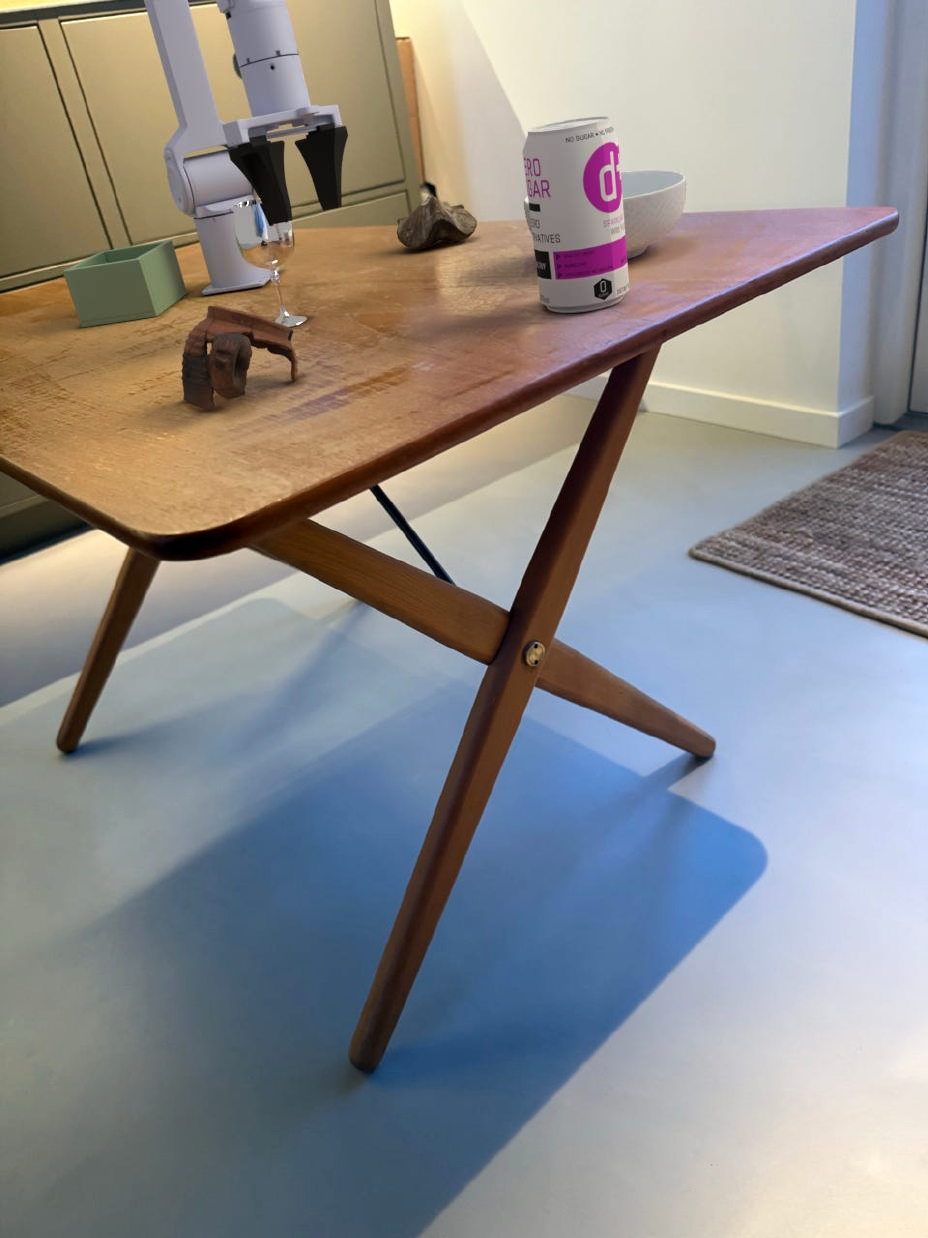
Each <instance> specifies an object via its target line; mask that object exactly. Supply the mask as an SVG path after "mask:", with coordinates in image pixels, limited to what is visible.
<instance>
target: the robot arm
mask: <svg viewBox="0 0 928 1238" xmlns="http://www.w3.org/2000/svg"><path fill="white" fill-rule="evenodd" d="M143 3H144V6H145V10H146V13H147V15H148V16H147V17H148V20H149V24H150V27H151V31H152V35H153V37H154V42H155V45H156V49H157V52H158V55H159V59H160V62H161V66H162V69H163V73H164V76H165V80H166V85H167V87H168V91H169V94H170V98H171V101H172V105H173V108H174V111H175V114H176V118H177V122H178V127H177V128H176V130H175V131H174V133H173V134H172V136H171V137H170V138H169V139H168V142H167V143H166V144H165V146H164V149H163V159H164V164H165V168H166V175H167V176H166V177H167V183H168V187H169V190H170V193H171V195H172V198H173V201H174V203H175V205H176V207H177V208H178V210H179V211H180V212H182V213H183V214H184V215H186V216H188V217H190V218H193V222H194V227H195V231H196V234H197V237H198V241H199V244H200V249H201V251H202V255H203V259H204V262H205V265H206V270H207V274H208V277H209V280H210V284H209V285H208V286H207V287H205V288H204V289H203V290H201V293H202V295H203V296H205V295H212V294H218V293H219V294H220V293H225V292H232V291H238V290H246V289H252V288H258V287H262V286H265V285H266V284H267V283H268V282H269V281H271V279H270V273H271V270H270V269H265V268H259V267H256V266H253V265H251V264H249V263H248V262H247V261H246V260H245V259H244V258H243V257H242V255H241V253H240V251H239V248H238V245H237V242H236V237H235V230H234V210H233V206H234V205H236V204H239V203H242V202H246V201H250V200H254V199H260V200H261V202H262V204H263V206H264V207H265V209H266V211H267V213H268V215H269V217H270V219H271V221H272V223H273V224H278V223H283V222H288V221H290V222H291V221H293V211H292V204H291V199H290V195H289V190H288V185H287V179H286V169H285V168H286V167H285V145H286V142H285V141H284V140H282V139H281V140H276V141H271V140H272V139H278V138H284V137H288V136H294V135H300V134H305V133H307V134H305V138H301V139H297V140H295V141H294V145H295V147H296V148H297V150H298V151H299V153H300V155H301V157H302V159H303V161H304V163H305V165H306V168H307V170H308V172H309V175H310V177H311V180H312V183H313V187H314V190H315V193H316V197H317V200H318V203H319V205H320V206H321V209H322V211H324V212H325V211H329V210H334V209H340V208H342V207H343V203H342V202H343V199H342V195H343V194H342V192H343V191H342V178H343V177H342V170H343V161H344V155H345V148H346V145H347V141H348V138H349V133H348V128H347V125H343V122H342V117H341V112H340V108H339V104H332V105H319V104H312V103H311V99H310V95H309V91H308V87H307V83H306V79H305V75H304V70H303V66H302V62H301V61H302V60H301V57H300V54H299V49H298V46H297V41H296V37H295V33H294V29H293V24H292V20H291V17H290V13H289V8H288V5H287V1H286V0H215V3H216V7H217V8H218V10H219V12H220V14H224V17H225V19H226V23H227V28H228V31H229V35H230V38H231V42H232V46H233V49H234V53H235V58H236V62H237V65H238V68H239V72H240V75H241V79H242V83H243V87H244V91H245V95H246V99H247V103H248V106H249V110H250V113H251V117H248V118H242V119H236V120H232V121H229V122H226V123H225V122H224V121H222V120H221V119H220V116H219V113H218V109H217V105H216V102H215V98H214V94H213V91H212V86H211V83H210V79H209V75H208V71H207V68H206V64H205V60H204V57H203V53H202V49H201V45H200V41H199V37H198V34H197V31H196V27H195V22H194V18H193V16H192V12H191V8H190V4H189V0H143ZM290 124H291V126H292V127H291V128H289V129H284V130H283V129H282V130H277V129H280V127H282V126H285V125H286V126H287V125H290ZM275 130H277V131H275ZM216 147H224V148H225V149H221V150H216V151H212V152H206V153H202V154H198V155H193V156H188V157H186V156H187V155H188V154H190V153H193V152H196V151H200V150H205V149H211V148H216ZM280 270H281V268H280V266H278V267H277V268H276V271H277V272H278V273H279V272H280Z"/></svg>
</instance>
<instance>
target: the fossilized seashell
mask: <svg viewBox="0 0 928 1238" xmlns="http://www.w3.org/2000/svg"><path fill="white" fill-rule="evenodd" d="M396 222H397V223H398V226H397V229H396V235H397V240H398V241H399V242H400V243H401V244H402V245H404V246H405V247H406V248H407V249H414V250H421V249H427V248H430V247H432V246H434V245H435V244H438V242H440V241H442V242H448V243H455V242H460V241H463V240H466V239H468V238H470V237H471V236H472V235H473V234H474V232H475V231H476V228H477V226H478V221H477V219H476V217H475V216H474V215H473V214H471V213H470V212H469V211H468V210H466V209H465V206H464V204H463V203H462V204H457V205H451V204H450V203H449V202H448V201H445V200H444V201H442V200H440V199H439V198H438V197H436V196H434V195H433V194H430V195H428V196H427V198H426V199H425V200H423V201H422V202H421V203H420V204H419V205H418V206H417V207H416V208H415V209H414V210H413V211H412V212H411V213H410V214H409V215H407V216H404V217H400V218H398V219H397V220H396Z"/></svg>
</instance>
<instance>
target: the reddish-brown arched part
mask: <svg viewBox="0 0 928 1238" xmlns="http://www.w3.org/2000/svg"><path fill="white" fill-rule="evenodd" d="M293 334H294V329H292V328H291V327H287V326H285V325H283V324H279V323H277V322H274V320H272V319H269V318H267V317H266V318H265V317H264V316H263V317H262V316H259V315H256V314H252V313H249V312H246V311H243V310H239V309H235V308H231V307H228V306H227V307H226V306H222V305H208V306H207V313H206V318H205V319H203V320H201V321H199V323H197V325H195V326H194V327H192V330H191V331H190V332H189V333H188V337H187V338H186V339H185V340H184V341H185V345H184V347H183V352H182V361H181V366H182V367H181V377H180V378H181V381H182V382H181V384H182V392H183V401H185V402H186V403H187V404H190V405H192V406H195V407H199V408H201V409H206V410H210V411H213V410H215V401H214V400H215V399H214V395H215V394H214V393H216V394H217V395H219V396H220V397H222V398H223V399H226V400H233V399H236V398H239V397H241V396H245V395H246V387H247V383H248V379H247V377H248V370H249V369H250V366H251V359H252V357H253V350H252V348H255V349H260V350H264V349H266V350H267V351H268V353H270V354H273V355H278V356H281V357H284V358H285V359H287V360H288V361H289V362H290V367H291V368H290V379H291V380H292V381H293V382H296V380H297V379H298V372H299V368H298V365H299V361H298V359H297V352H296V349H295V348H294V346H293V344H292V342H291V341H292V338H293ZM208 344H210V345H211V346H210V347H211V348H210V350H209V353H208Z"/></svg>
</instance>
